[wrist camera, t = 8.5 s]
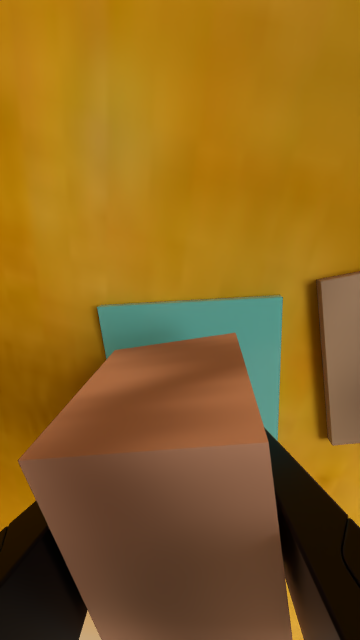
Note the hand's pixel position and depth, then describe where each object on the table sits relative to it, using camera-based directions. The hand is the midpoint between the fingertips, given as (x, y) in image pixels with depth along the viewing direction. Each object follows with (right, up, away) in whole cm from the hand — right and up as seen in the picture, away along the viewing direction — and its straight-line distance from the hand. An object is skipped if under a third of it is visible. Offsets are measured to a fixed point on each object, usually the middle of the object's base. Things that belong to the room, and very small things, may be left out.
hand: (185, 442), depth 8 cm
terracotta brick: (0, +1, +2) cm, 2 cm away
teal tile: (0, +1, +4) cm, 5 cm away
